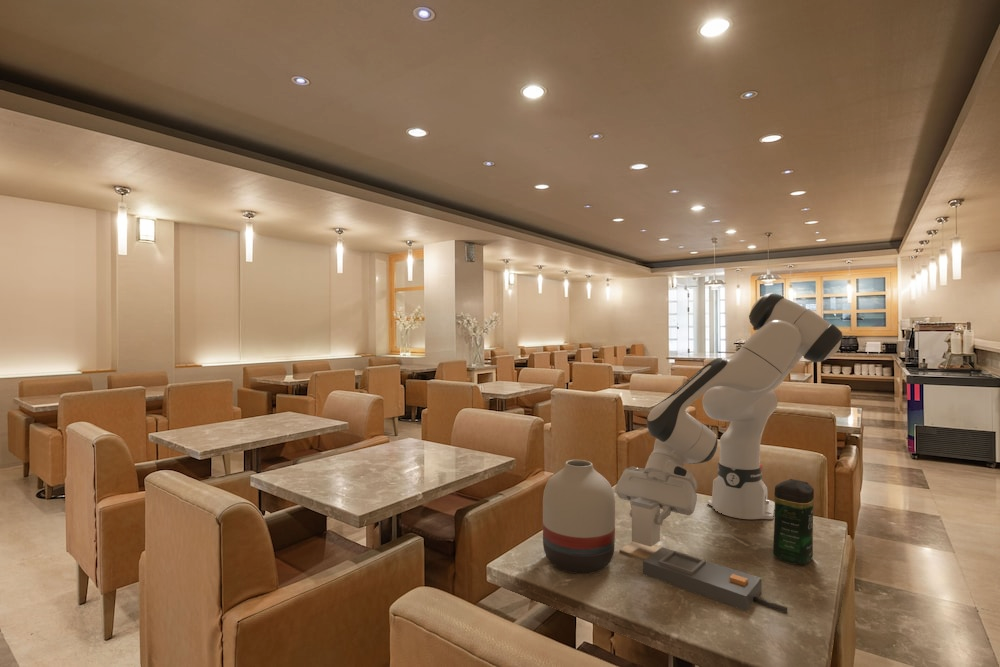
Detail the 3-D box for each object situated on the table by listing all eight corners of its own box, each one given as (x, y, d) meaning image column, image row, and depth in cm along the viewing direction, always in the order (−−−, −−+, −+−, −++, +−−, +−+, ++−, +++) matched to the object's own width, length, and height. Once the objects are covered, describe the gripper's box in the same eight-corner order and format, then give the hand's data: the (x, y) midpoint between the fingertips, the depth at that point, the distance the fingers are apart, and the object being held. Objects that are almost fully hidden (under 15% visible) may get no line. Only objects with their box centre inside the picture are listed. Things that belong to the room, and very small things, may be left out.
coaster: (636, 541, 132) (636, 538, 132) (669, 551, 126) (669, 549, 126) (619, 552, 125) (619, 549, 125) (653, 563, 119) (653, 561, 119)
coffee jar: (806, 570, 117) (807, 490, 116) (769, 558, 122) (770, 482, 122) (817, 556, 124) (817, 481, 123) (781, 546, 129) (782, 474, 129)
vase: (599, 587, 108) (600, 477, 108) (530, 567, 117) (530, 465, 117) (624, 557, 123) (624, 460, 123) (560, 541, 132) (561, 451, 131)
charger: (641, 535, 129) (641, 496, 129) (659, 540, 125) (660, 500, 125) (631, 541, 125) (631, 500, 125) (650, 546, 122) (650, 505, 122)
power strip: (661, 559, 121) (662, 543, 121) (793, 602, 103) (793, 584, 103) (642, 574, 114) (642, 557, 114) (780, 623, 95) (780, 603, 95)
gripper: (622, 458, 137) (603, 503, 130) (697, 473, 124) (681, 524, 116) (630, 471, 141) (612, 516, 133) (704, 487, 127) (688, 537, 120)
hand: (644, 520), depth 125 cm, fingers closed on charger, 5 cm apart
